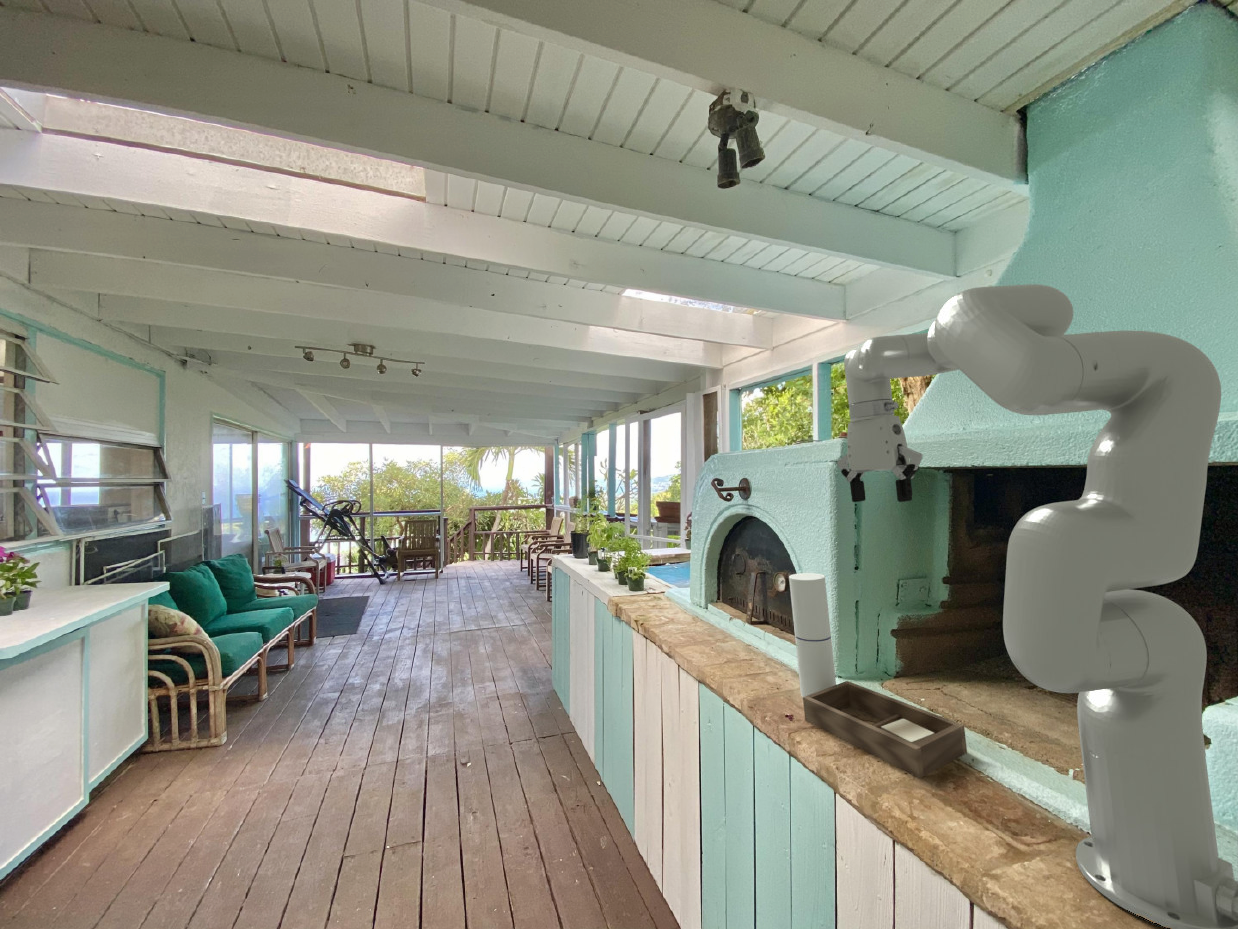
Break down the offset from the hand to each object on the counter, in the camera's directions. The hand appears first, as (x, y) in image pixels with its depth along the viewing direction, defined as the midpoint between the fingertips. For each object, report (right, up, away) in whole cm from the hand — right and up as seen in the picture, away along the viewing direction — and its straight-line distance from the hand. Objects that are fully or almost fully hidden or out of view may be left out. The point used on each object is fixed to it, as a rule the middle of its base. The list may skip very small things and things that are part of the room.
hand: (880, 501), depth 95 cm
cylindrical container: (-8, -42, +9) cm, 44 cm away
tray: (-5, -41, -9) cm, 42 cm away
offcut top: (-3, -38, -14) cm, 41 cm away
